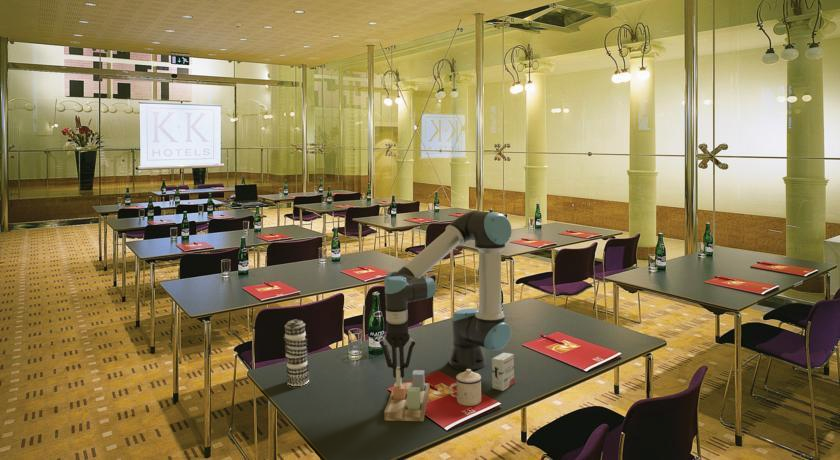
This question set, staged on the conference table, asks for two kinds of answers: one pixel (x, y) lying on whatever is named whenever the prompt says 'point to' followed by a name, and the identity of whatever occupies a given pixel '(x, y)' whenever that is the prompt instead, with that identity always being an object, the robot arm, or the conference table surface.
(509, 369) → the ink box
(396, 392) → the block terracotta
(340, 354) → the conference table surface
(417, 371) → the block slate
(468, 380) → the teacup with lid
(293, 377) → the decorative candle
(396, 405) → the block board
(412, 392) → the block sage
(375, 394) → the conference table surface
